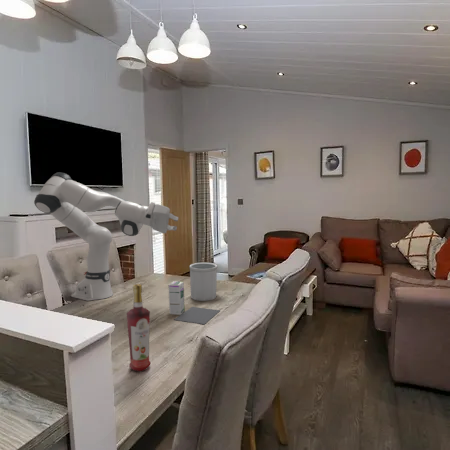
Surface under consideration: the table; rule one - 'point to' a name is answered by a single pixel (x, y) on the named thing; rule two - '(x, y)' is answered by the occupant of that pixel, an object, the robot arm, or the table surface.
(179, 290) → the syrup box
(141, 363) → the liquor
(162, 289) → the table surface
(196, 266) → the utensil holder
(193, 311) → the mat
